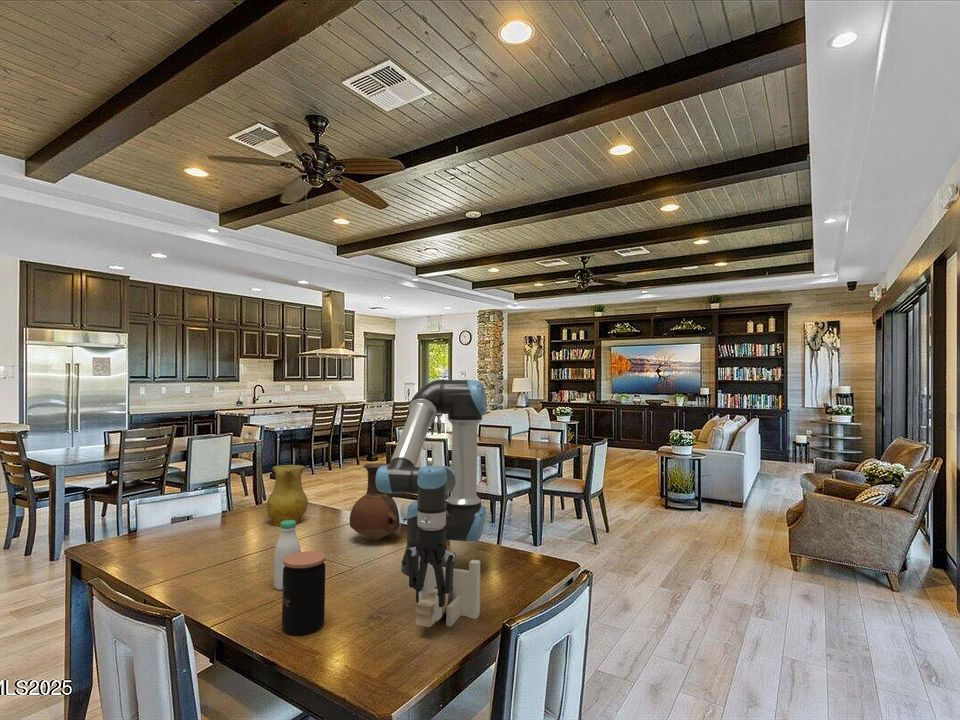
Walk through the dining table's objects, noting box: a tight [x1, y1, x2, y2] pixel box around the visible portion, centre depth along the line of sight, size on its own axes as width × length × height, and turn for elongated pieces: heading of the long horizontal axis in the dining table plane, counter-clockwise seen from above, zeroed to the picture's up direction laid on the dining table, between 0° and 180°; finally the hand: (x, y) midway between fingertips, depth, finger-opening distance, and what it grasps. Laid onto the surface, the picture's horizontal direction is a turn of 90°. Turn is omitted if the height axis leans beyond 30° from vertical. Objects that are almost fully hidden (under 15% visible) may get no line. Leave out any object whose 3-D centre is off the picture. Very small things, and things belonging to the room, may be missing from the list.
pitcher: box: [266, 464, 309, 527], centre depth 238 cm, size 17×19×25 cm
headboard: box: [419, 556, 481, 627], centre depth 148 cm, size 18×9×15 cm, turn 70°
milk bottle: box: [273, 520, 302, 591], centre depth 168 cm, size 8×8×20 cm
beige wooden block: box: [415, 586, 453, 628], centre depth 142 cm, size 14×4×5 cm, turn 160°
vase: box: [349, 462, 400, 542], centre depth 214 cm, size 25×20×30 cm
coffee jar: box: [281, 550, 326, 636], centre depth 141 cm, size 11×11×18 cm
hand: (430, 616), depth 139 cm, fingers closed on beige wooden block, 4 cm apart
